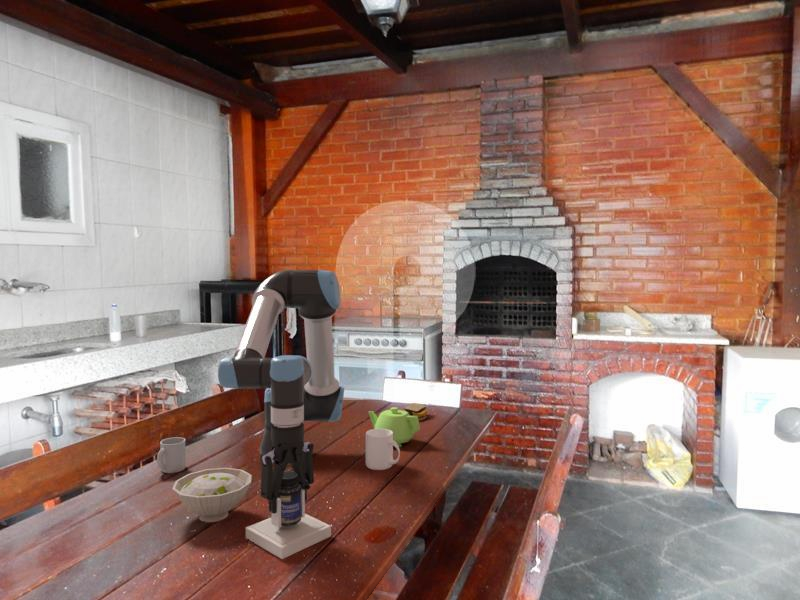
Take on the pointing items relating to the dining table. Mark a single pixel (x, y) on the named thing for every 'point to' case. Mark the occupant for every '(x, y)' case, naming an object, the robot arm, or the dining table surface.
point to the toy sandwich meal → (417, 410)
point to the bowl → (212, 491)
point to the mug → (380, 449)
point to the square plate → (288, 535)
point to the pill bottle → (290, 499)
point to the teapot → (396, 424)
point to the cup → (172, 455)
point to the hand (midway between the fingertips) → (288, 520)
